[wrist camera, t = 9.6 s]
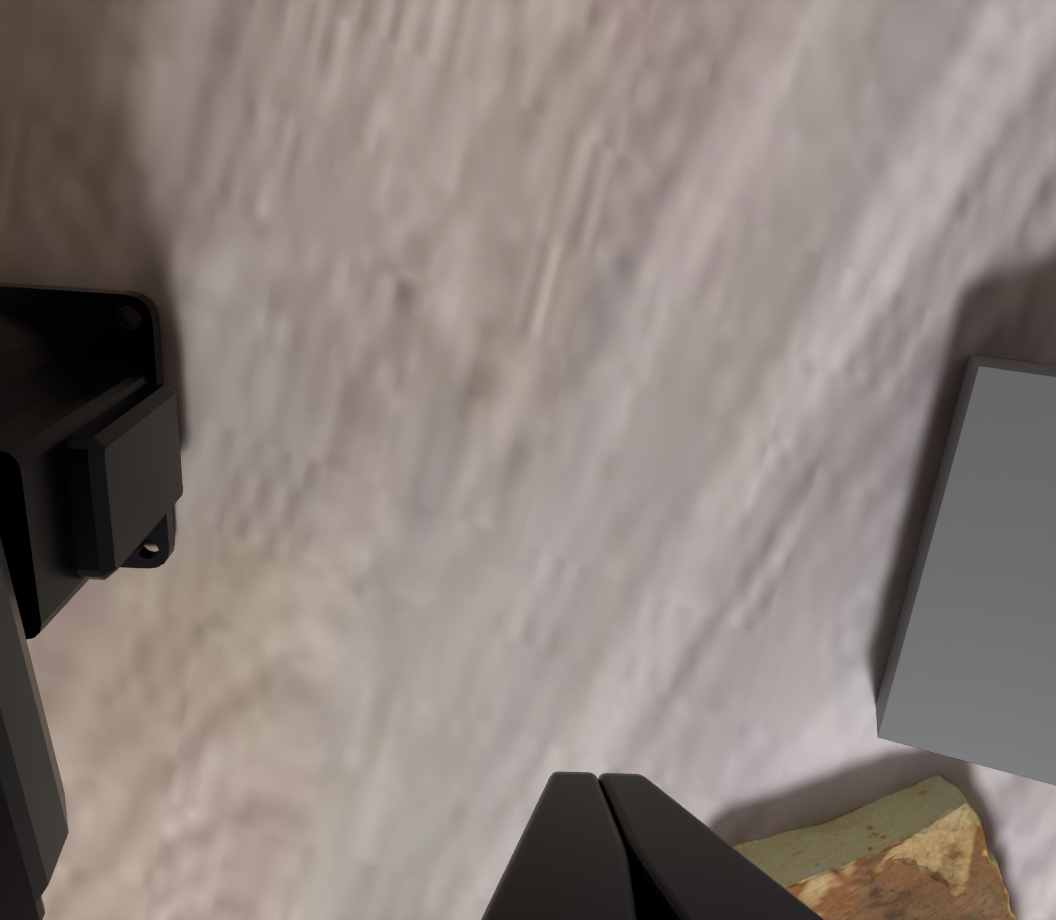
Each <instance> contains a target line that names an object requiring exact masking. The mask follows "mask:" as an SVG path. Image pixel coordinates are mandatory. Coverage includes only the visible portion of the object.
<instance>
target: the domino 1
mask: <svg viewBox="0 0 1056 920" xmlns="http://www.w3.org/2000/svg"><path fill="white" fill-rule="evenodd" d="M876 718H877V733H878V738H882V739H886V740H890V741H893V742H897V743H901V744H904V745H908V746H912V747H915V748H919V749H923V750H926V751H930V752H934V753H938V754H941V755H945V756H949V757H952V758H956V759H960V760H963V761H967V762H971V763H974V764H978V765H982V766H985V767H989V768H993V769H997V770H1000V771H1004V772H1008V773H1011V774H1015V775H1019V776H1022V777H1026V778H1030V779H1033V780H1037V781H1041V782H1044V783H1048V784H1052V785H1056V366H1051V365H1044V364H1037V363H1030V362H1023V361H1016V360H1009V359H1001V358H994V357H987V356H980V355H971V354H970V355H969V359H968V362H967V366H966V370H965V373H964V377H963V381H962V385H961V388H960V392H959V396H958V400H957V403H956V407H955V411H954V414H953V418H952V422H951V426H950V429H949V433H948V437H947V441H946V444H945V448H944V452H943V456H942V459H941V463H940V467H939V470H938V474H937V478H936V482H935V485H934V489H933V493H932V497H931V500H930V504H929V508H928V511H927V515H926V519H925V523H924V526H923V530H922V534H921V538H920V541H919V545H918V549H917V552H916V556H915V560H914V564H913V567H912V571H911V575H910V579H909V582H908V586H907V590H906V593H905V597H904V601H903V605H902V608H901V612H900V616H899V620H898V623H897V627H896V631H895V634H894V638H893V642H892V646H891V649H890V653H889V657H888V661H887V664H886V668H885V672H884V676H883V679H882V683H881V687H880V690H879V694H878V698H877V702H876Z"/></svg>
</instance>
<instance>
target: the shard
mask: <svg viewBox="0 0 1056 920" xmlns="http://www.w3.org/2000/svg"><path fill="white" fill-rule="evenodd" d="M734 848H735V849H736V850H737V851H739V852H740V853H741V854H742V855H744V856H745V857H746V858H748V859H749V860H750V861H751V862H753V863H754V864H755V865H756V866H758V867H759V868H760V869H761V870H763V871H764V872H765V873H766V874H768V875H769V876H770V877H771V878H773V879H774V880H775V881H776V882H778V883H779V884H780V885H781V886H783V887H784V888H785V889H786V890H788V891H789V892H790V893H791V894H793V895H794V896H795V897H797V898H798V899H799V900H800V901H802V902H803V903H804V904H805V905H807V906H808V907H809V908H810V909H812V910H813V911H814V912H815V913H817V914H818V915H819V916H820V917H822V918H823V919H824V920H1016V917H1015V914H1014V913H1013V911H1012V910H1011V909H1010V905H1009V893H1008V891H1007V889H1006V887H1005V884H1004V881H1003V879H1002V876H1001V873H1000V870H999V866H998V863H997V861H996V859H995V857H994V856H993V854H992V852H991V851H989V850H988V849H987V848H986V842H985V838H984V832H983V828H982V825H981V821H980V818H979V816H978V815H977V813H976V812H975V811H974V810H973V808H972V807H971V806H970V804H969V803H968V802H967V800H966V798H965V796H964V794H963V793H962V792H961V791H960V790H959V789H958V788H957V787H955V786H954V785H953V784H951V783H949V782H947V781H946V780H945V779H944V778H942V777H941V776H940V775H938V774H937V775H935V776H933V777H930V778H928V779H925V780H923V781H921V782H920V783H918V784H916V785H914V786H912V787H910V788H906V789H903V790H900V791H897V792H895V793H892V794H890V795H887V796H885V797H883V798H880V799H878V800H876V801H874V802H872V803H869V804H868V805H865V806H863V807H861V808H859V809H857V810H853V811H851V812H850V813H848V814H846V815H843V816H841V817H838V818H835V819H833V820H831V821H830V822H826V823H822V824H819V825H815V826H809V827H804V828H800V829H795V830H791V831H787V832H783V833H779V834H775V835H773V836H770V837H768V838H764V839H759V840H753V841H749V842H746V843H743V844H738V845H735V846H734Z"/></svg>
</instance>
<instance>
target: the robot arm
mask: <svg viewBox="0 0 1056 920" xmlns="http://www.w3.org/2000/svg"><path fill="white" fill-rule="evenodd" d="M126 306H129V307H133V308H134V309H135V310H137V311H138V312H139V315H140V318H141V321H140V325H139V326H133V325H130V324H129V323H128V322H127V321H126V320H125V318H124V315H123V312H124V308H125V307H126ZM182 493H183V486H182V471H181V455H180V440H179V425H178V409H177V396H176V394H175V393H174V392H173V390H172V389H171V388H170V387H169V386H168V385H164V380H163V366H162V352H161V338H160V323H159V314H158V311H157V307H156V306H155V305H154V303H153V302H152V300H151V299H149V298H148V297H146V296H145V295H143V294H140V293H137V292H130V291H115V290H100V289H85V288H70V287H56V286H41V285H26V284H11V283H0V920H42V919H43V916H44V914H45V909H44V904H43V900H42V897H41V895H42V894H43V892H44V891H45V889H46V887H47V886H48V884H49V882H50V879H51V876H52V874H53V871H54V869H55V866H56V863H57V861H58V858H59V856H60V853H61V850H62V848H63V845H64V843H65V840H66V837H67V835H68V823H67V813H66V803H65V793H64V789H63V785H62V781H61V777H60V773H59V769H58V765H57V761H56V757H55V753H54V749H53V745H52V741H51V737H50V733H49V729H48V725H47V721H46V717H45V713H44V709H43V705H42V701H41V697H40V693H39V689H38V685H37V681H36V677H35V673H34V669H33V665H32V661H31V657H30V653H29V649H28V645H27V641H26V639H31V638H34V637H36V636H37V635H38V634H39V633H40V632H41V631H42V630H43V629H44V628H45V627H46V625H47V624H48V623H49V622H50V621H51V620H52V619H53V618H54V617H55V616H56V615H57V613H58V612H59V611H60V610H61V609H62V608H63V607H64V606H65V605H66V604H67V603H68V601H69V600H70V599H71V598H72V597H73V596H74V595H75V594H76V593H77V592H78V591H79V589H80V588H81V587H82V586H83V585H84V584H85V583H86V582H87V581H88V580H89V579H99V580H105V579H107V578H108V577H110V576H111V575H112V574H113V573H114V572H115V571H116V570H117V569H118V568H119V567H127V568H156V567H159V566H160V565H162V564H164V563H165V561H166V560H167V559H168V558H169V556H170V555H171V553H172V552H173V551H174V546H175V537H174V523H173V508H172V506H173V505H174V504H175V503H176V502H177V500H178V499H179V498H180V497H181V496H182ZM143 540H150V541H153V542H154V543H155V544H156V545H157V546H158V549H159V551H156V552H153V551H149V550H148V549H147V548H145V547H144V544H143V542H142V541H143ZM481 920H824V919H823V918H822V917H820V916H819V915H818V914H817V913H815V912H814V911H813V910H812V909H810V908H809V907H808V906H807V905H805V904H804V903H803V902H802V901H800V900H799V899H798V898H797V897H795V896H794V895H793V894H791V893H790V892H789V891H788V890H786V889H785V888H784V887H783V886H781V885H780V884H779V883H778V882H776V881H775V880H774V879H773V878H771V877H770V876H769V875H768V874H766V873H765V872H764V871H763V870H761V869H760V868H759V867H758V866H756V865H755V864H754V863H753V862H751V861H750V860H749V859H748V858H746V857H745V856H744V855H742V854H741V853H740V852H739V851H737V850H736V849H735V848H734V847H732V846H731V845H730V844H729V843H727V842H726V841H725V840H724V839H722V838H721V837H720V836H719V835H717V834H716V833H715V832H714V831H712V830H711V829H710V828H709V827H707V826H706V825H705V824H704V823H702V822H701V821H700V820H699V819H697V818H696V817H695V816H693V815H692V814H691V813H690V812H688V811H687V810H686V809H685V808H683V807H682V806H681V805H680V804H678V803H677V802H676V801H675V800H673V799H672V798H671V797H670V796H668V795H667V794H666V793H665V792H663V791H662V790H661V789H660V788H658V787H657V786H656V785H655V784H653V783H652V782H651V781H650V780H648V779H647V778H645V777H644V776H642V775H639V774H620V773H604V774H602V775H600V776H599V778H598V779H597V777H596V776H595V775H594V774H592V773H588V772H555V773H553V774H552V775H551V776H550V778H549V780H548V782H547V784H546V786H545V788H544V790H543V792H542V794H541V797H540V799H539V801H538V803H537V805H536V807H535V809H534V811H533V813H532V815H531V817H530V819H529V821H528V824H527V826H526V828H525V830H524V832H523V834H522V836H521V838H520V840H519V842H518V844H517V846H516V849H515V851H514V853H513V855H512V857H511V859H510V861H509V863H508V865H507V867H506V869H505V871H504V873H503V876H502V878H501V880H500V882H499V884H498V886H497V888H496V890H495V892H494V894H493V896H492V898H491V900H490V903H489V905H488V907H487V909H486V911H485V913H484V915H483V917H482V919H481Z"/></svg>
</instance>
